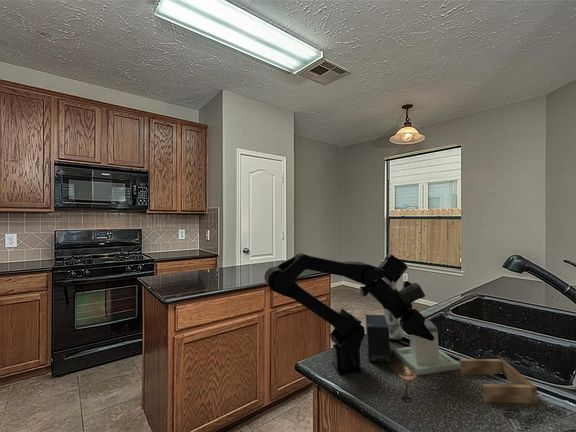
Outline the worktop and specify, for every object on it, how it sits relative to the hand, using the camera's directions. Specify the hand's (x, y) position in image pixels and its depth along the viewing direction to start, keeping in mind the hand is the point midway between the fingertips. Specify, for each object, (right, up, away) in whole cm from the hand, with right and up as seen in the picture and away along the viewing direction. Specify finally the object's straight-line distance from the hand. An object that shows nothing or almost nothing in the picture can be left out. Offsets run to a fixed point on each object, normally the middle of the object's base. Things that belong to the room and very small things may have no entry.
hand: (428, 332), depth 85 cm
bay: (+9, -8, -13) cm, 18 cm away
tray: (-1, -8, 0) cm, 8 cm away
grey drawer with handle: (-1, -8, 0) cm, 8 cm away
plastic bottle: (-4, -8, +16) cm, 19 cm away
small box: (-12, -9, +6) cm, 17 cm away
